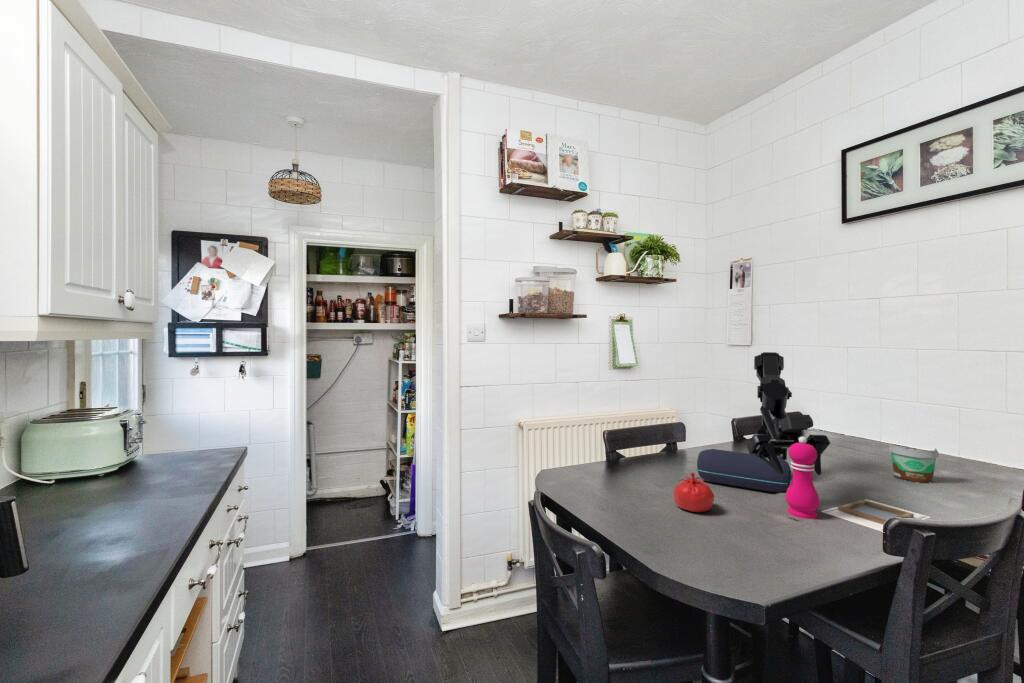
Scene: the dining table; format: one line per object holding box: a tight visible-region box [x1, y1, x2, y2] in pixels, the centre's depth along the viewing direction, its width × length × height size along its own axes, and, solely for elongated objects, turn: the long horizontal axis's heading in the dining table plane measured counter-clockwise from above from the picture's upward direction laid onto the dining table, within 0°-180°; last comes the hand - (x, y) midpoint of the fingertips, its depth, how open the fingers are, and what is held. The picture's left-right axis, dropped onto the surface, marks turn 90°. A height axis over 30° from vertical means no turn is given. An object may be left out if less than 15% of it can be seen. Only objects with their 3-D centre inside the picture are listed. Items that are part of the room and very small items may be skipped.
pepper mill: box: [784, 436, 821, 522], centre depth 117 cm, size 7×7×20 cm
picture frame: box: [820, 498, 932, 533], centre depth 117 cm, size 20×14×1 cm
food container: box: [888, 444, 940, 484], centre depth 146 cm, size 12×6×10 cm, turn 68°
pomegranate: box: [672, 471, 715, 513], centre depth 123 cm, size 10×10×9 cm
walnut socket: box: [837, 499, 914, 525], centre depth 117 cm, size 11×11×1 cm
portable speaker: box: [696, 448, 792, 494], centre depth 141 cm, size 25×10×10 cm, turn 55°
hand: (800, 474), depth 118 cm, fingers open, 9 cm apart
